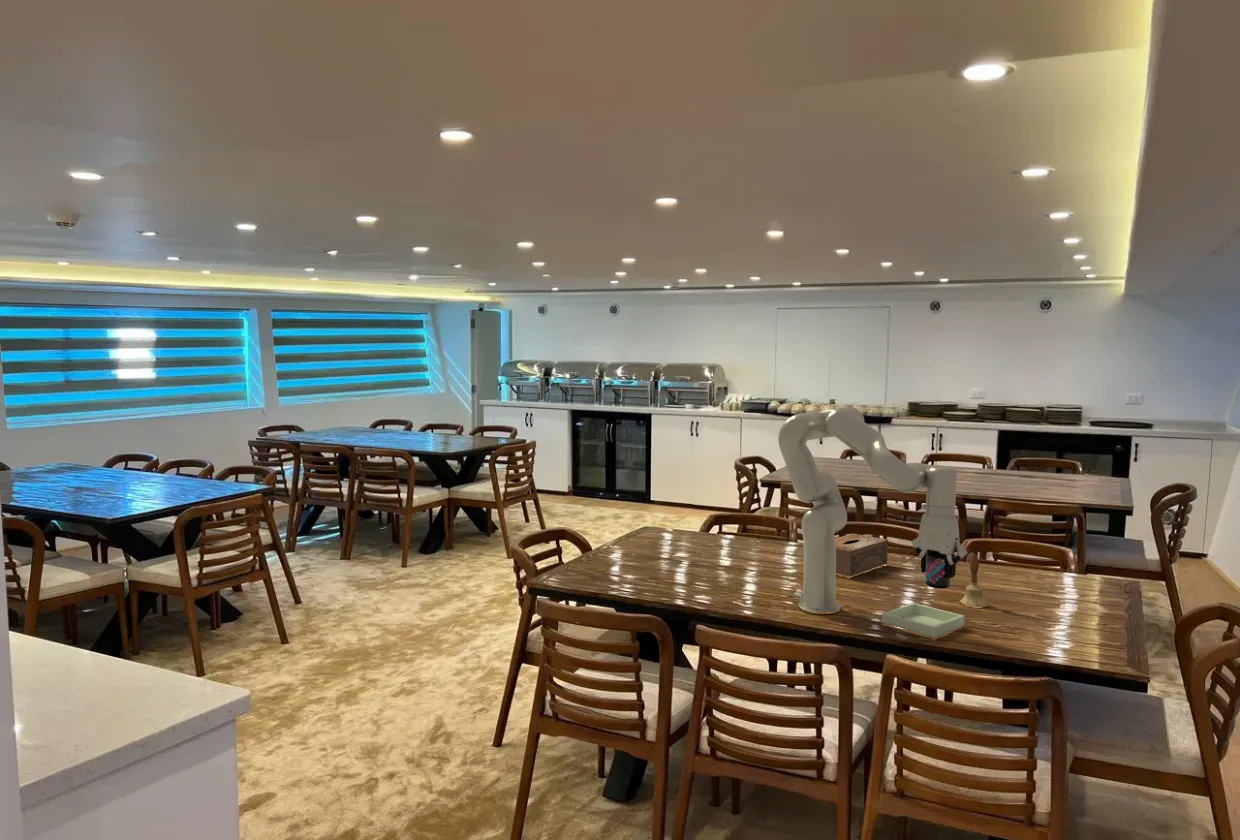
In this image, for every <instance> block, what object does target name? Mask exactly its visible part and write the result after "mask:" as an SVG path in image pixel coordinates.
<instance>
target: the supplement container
mask: <svg viewBox="0 0 1240 840" xmlns="http://www.w3.org/2000/svg"><path fill="white" fill-rule="evenodd" d="M946 556H947V555H943V554H941V553H940V552H939V551H934V550H929V549H927V551H926V561H925V572H924V584H925V585H926V587H929V588H932V589H941V590H942V589H943V590H944V589H948V588H950V586H951V578H950V579H948V578H946V570H947V564H949V562H948V559H947V557H946Z"/></svg>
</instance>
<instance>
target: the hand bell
mask: <svg viewBox="0 0 1240 840" xmlns="http://www.w3.org/2000/svg"><path fill="white" fill-rule="evenodd" d="M979 562H980V561H979V558H978V555H977V553H972V554H971V557H970V559H969V569H970V574H971V575H970V576H971V580H970V585H967V586H966V588H965V593H964V596H963V598H961V600H959V602H961V603H963V604H965V605H969V606H974V607H986V606H988V607H989V604H988V602H987V601H986V600H985V598H984V595H983V588H982V587H981V586H979V585H978V571H979V568H980V567H979V566H980V563H979Z"/></svg>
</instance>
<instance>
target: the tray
mask: <svg viewBox="0 0 1240 840" xmlns="http://www.w3.org/2000/svg"><path fill="white" fill-rule="evenodd" d="M902 617H905V618H902ZM882 622H883V623H886V624H889V625H893V626H896V627H900V628H903V629H907V630H910V631H913V632H917V633H919V634H923V635H926V636H929V637H932V638H934V639H935V638H937V637H939V636H941V635H944V634H946V633H948V632H951V631H953V630H956V629H958V628H960V627H962V626H964V627H965V615H963V614H959V613H957V612H956V613H955V612H953V611H948V610H942V609H939V608H935V607H931V606H927V605H924V604H920V603H916V602H911V603H908V604H905V605H903V606H900V607H896V608H894V609H891V610H888V611H886V612H883V613H882V615H881V623H882Z"/></svg>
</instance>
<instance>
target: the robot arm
mask: <svg viewBox="0 0 1240 840" xmlns="http://www.w3.org/2000/svg"><path fill="white" fill-rule="evenodd" d="M777 437H778V438H777V439H778V441H777V442H778V445H779V450H780V452H781V454H782V457H783V460H784V463H785V466H786V469H787V472H788V475H789V478H790V481H791V484H792V487H793V490H794V494H795V495H796V497H797V499H798V500H799V501H801V502H802V503H805V504H811V503H812V504H813V507H811V508H809V509H808V510H807V511H806V512H805V513H804V514H803V516H802V519H801V532H802V540H803V585H802V586H803V588H802V589H803V590H802V589H798V588H796V590H795V592H794V594H793V596H794V598H799V599H800V601H798V603H797V607H798V606H799V607H800V608H801V609H803V610H807V611H812V612H824V613H826V612H834V611H838V610H839V609H840V608H841V605H840V604H839V603H837V602H836V594H837V593H836V591H837V590H836V589H837V588H836V587H837V586H836V585H837V583H836V582H837V576H836V545H835V540H834V539H835V534H836V533H839V531H842V530H843V529H844V527H845V526H846V524H847V522H848V514H847V513H848V512H847V509H846V507H845V503H844V500H843V498H842V496H841V492H840V489H839V486H838V484H837V481H836V479H835V477H834V476H833V475H832V474H831V473H830V472H829V471H827V470H826V469H823V468H818V467H817V464H816V462H815V459H814V456H813V453H812V452H811V450H810V449H809V447H808V445H807V441H812V440H817V439H825V438H832V437H833V438H836V439H838V440H839V441H840V442H842V443H843V444H844V445H845V446H846V447H848V448H850V449H851V450H852V451H853V452H854V453H856V454H857V455H858V456H860V457H861V458H862V459H863V460H864V461H865V463H866V464H867V465H868V466H869V468H870V469H871V470H872V471H873V472H874V473H875V474H876V475H877V476H878V477H879V478H880V479H882V480H883V481H884V482H886V484H887V483H888V485H890V486H891V487H893V488H894V489H896V491H899V492H901V493H904V494H905V493H906V494H911V493H914V492H916V491H918V490H919V491H920V490H922V489H926V496H925V497H926V499H925V504H922V506H921V509H922V510H924V512H925V513H923V514H922V516H921V519H920V524H919V529H918V530H919V531H918V536H917V537H916V538H914V539H913V540H912V541H911V545H912V546H913V548H914V549H915V551H916V553H918V557H919V558H920V568H921V569H920V571H921V573H924V574H925V561H926V551H927V549H929V550H934V551H939V552H940V553H941V554H943V555H947V556H946V557H947V559H948V562H949V564H947V570H946V578H948V579H950V580H951V579H952V578H954V577H955V575H956V573H957V572H956V571H957V570H956V569H957V564H958V563H959V562H960V561H961V560H962V559H963V558H965V556H967V554H968V551H967V550H966V548H965V547H964V545H962V544H961V543H960V530H959V529H960V528H959V522H958V518H957V517H956V502H957V501H956V499H957V498H956V497H957V477H958V476H957V475H958V474H957V470H956V469H955V468H954V467H951V466H948V465H947V466H945V465H929V464H926V463H922V462H912V463H908V464H907V463H906V462H904V461H902V460H901V459H900V458H899V457H897V456H896V455H895V454H893V453H892V452H891V451H890V449H889V448H888V446H887V445H886V442H885V438H884V436H883V434H882V433H880V432H879V431H877V429H874V428H873V427H872V426H871V425H869V424H868V423H866V422H865V417H864V415H863V413H862V412H861V411H860V410H859V409H857V408H856V407H853V406H852V407H851V406H846V407H837V408H835V409H827V410H826V409H825V410H817V411H809V412H801V413H796V414H794V415H791V416H790V417H789V418H787V419H786V420H785V421H784V423H783V424H782V425H781V427H780V429H779V433H778V436H777ZM956 553H958V554H957V555H956Z"/></svg>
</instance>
